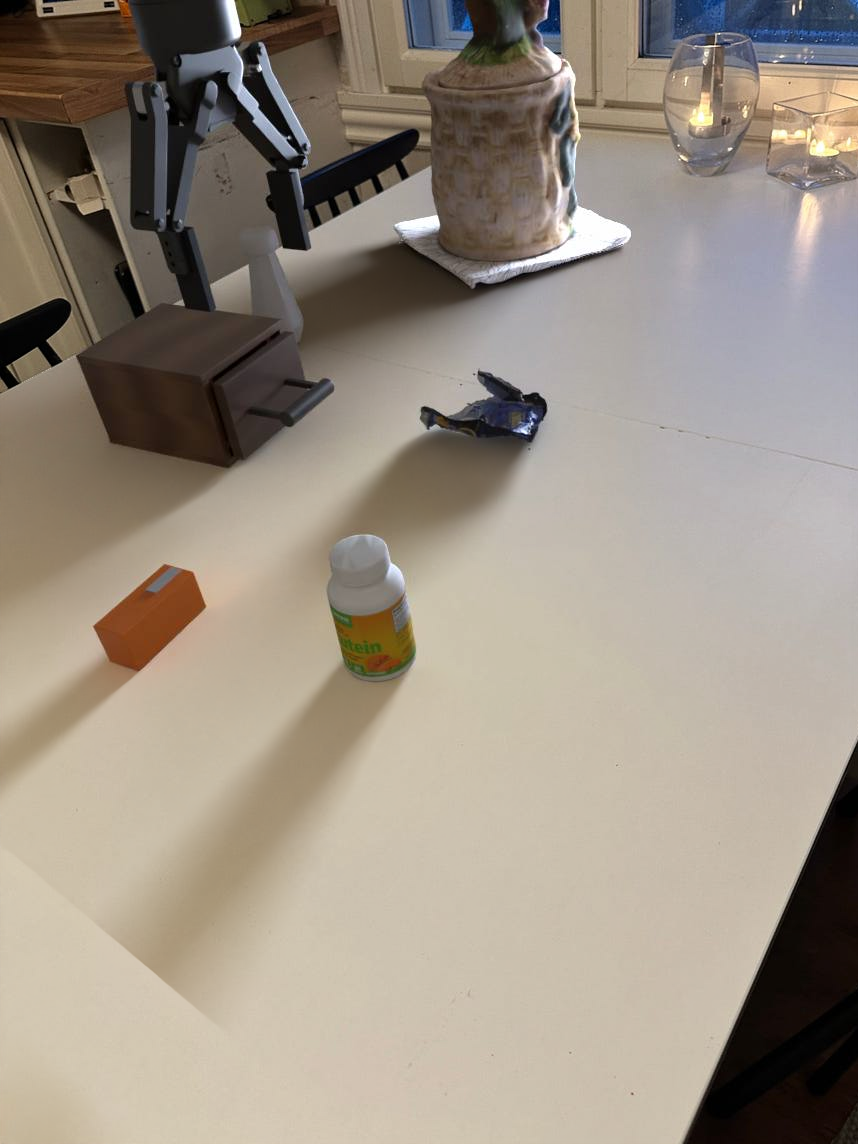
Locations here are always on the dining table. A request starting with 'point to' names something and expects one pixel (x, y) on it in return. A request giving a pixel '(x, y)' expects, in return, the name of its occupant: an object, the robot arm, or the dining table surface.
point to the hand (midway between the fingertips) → (251, 277)
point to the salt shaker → (269, 279)
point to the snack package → (494, 412)
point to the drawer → (264, 394)
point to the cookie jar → (505, 154)
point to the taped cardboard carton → (150, 617)
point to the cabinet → (170, 378)
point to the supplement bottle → (370, 609)
